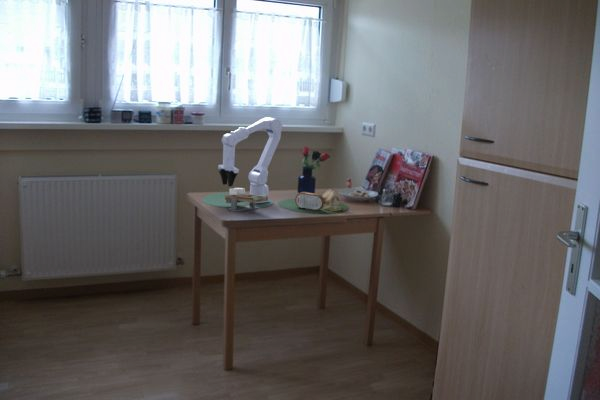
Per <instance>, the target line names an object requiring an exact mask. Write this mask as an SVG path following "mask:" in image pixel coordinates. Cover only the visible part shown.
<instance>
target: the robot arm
mask: <svg viewBox="0 0 600 400" xmlns="http://www.w3.org/2000/svg"><path fill="white" fill-rule="evenodd" d="M282 128H283V124H282V121H281V120H280V119H279V118H275V117H270V116H265V117H264V118H261V119H259V120H258V121H255V122H254V123H253V124H251V125H249V126H247V127H244V126H239V127H238V129H236V130H234V131H233V130H231V131H230V133H225V134H223V136H222V138H221V139H220V140H221V143H222V145H223V149H222V164H218V167H217V169H218V173H219V175H220V179H221V182H222V185H224V186H225V185H227V186H228V187H234V186H233V185H234V182H235V181H236V180H235V179H236V177H237V176H238V174H239V172H240V171H239V170H240V169H239V168H237V167H235V154H236V145H237V144H238V143H240V142H241V141H243V140H245V139H248V138H249V135H250V134H252V133H255V132H258V131H260V130H262V129H264V130H265V132H266V133H267V135H268V136H269V137H268V140H267V142H266V144H265V146H264V148H263V150H262V153H261V154H260V155H261V156H260V158H259V159H258V160H259V161H258V162H257V165H255V166H254V167H252V170H250V172H249V173H248V177H247V178H248V181H249V184H250V185H249V195H259V196H261V195H268V198H269V190H270V189H269V185H267V184H266V183H268V175H269V171H268V168H269V166H270V163H271V161H272V160H273V159H272V158H273V156H274V155H275V152H276V149H277V147H278V144H279V142H280V140H281V137H282ZM268 202H270V200H268V201H263V202H255V204H260V203H268Z"/></svg>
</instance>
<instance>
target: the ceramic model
mask: <svg viewBox="0 0 600 400" xmlns="http://www.w3.org/2000/svg"><path fill="white" fill-rule="evenodd" d="M321 196H322V197H323V198H324V200H325V204H324V206H323V209H322V210H325V209H326V210H325V211H328V210H329V212H338V211H341V210H342V208H341V205H339V203H340V201H341V198H340V197H339V195H338V194H337V193H336V191H334V189H333V188H330V189H327V190H326V191H325V192H324V193H323V194H322V195H321Z"/></svg>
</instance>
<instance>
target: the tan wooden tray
mask: <svg viewBox="0 0 600 400" xmlns="http://www.w3.org/2000/svg"><path fill="white" fill-rule="evenodd" d="M232 198H234V199H237V204H238V203H244V202H245V203H250V202H252V203H254V202H263V201H269V197H268V195H261V196H259V195H250V194H248V193H247V194H246V193H245V197H242V196H231V195H230V194H226V195H225V194H224V199H225V204H231V199H232ZM263 203H264V202H263Z"/></svg>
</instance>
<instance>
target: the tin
mask: <svg viewBox="0 0 600 400" xmlns="http://www.w3.org/2000/svg"><path fill="white" fill-rule="evenodd" d="M294 200H295V205H296V206H297V207H298V208H300V209H302V208H305V209H304V210H309V209H312V210H311V211H315V210H317V211H319V210H321V209H322V208H323V206H324V204H325V200H324V198H323V197H322V195H321V194H319V193H314V192H309V191H301V192H299V193H297V195H296V196H295V199H294ZM322 210H323V209H322Z"/></svg>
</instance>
